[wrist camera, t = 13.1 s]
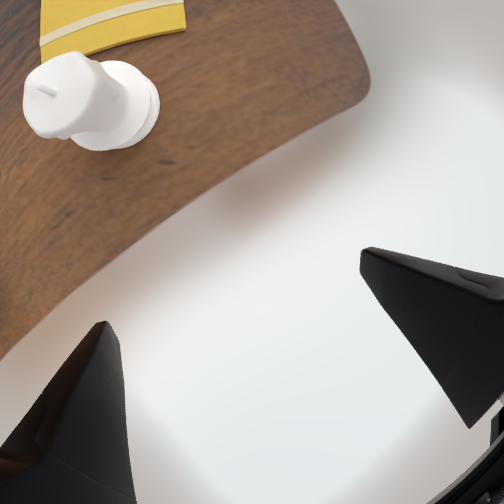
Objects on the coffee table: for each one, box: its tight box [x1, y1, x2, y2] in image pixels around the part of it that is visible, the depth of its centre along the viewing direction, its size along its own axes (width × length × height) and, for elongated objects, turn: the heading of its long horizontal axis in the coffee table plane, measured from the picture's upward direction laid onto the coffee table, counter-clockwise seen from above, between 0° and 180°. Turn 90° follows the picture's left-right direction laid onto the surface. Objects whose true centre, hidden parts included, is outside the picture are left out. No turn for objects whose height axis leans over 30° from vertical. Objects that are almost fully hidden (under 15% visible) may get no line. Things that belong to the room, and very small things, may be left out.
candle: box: [23, 51, 160, 151], centre depth 10 cm, size 5×5×12 cm
